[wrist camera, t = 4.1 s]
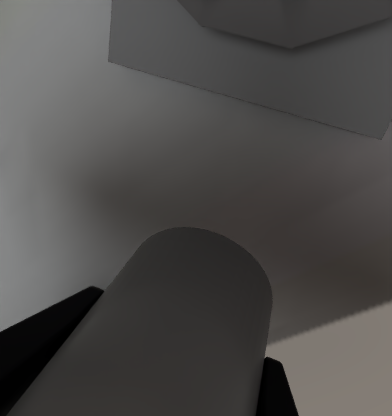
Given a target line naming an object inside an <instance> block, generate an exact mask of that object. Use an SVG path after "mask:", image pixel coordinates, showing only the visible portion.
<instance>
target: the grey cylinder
mask: <svg viewBox="0 0 392 416" xmlns="http://www.w3.org/2000/svg"><path fill="white" fill-rule="evenodd" d="M271 310H272V290H271V286H270V283H269V280H268V278H267V276H266V274H265V272H264V270H263V269H262V267H261V266H260V265H259V263H258V262H257V261H256V260H255V259H254V258H253V256H252V255H251V254H249V253H248V252H247V251H246V250H245V249H244V248H242V247H241V246H240V245H238V244H237V243H235V242H234V241H232V240H230V239H228V238H226V237H224V236H222V235H219V234H217V233H214V232H211V231H208V230H204V229H198V228H188V227H182V228H172V229H167V230H164V231H161V232H158V233H156V234H155V235H153V236H151V237H150V238H148V239H147V240H146V241H145V242H144V243H143V244H142V245H141V246H140V247H139V248H138V250H137V251H136V252H135V253H134V255H133V256H132V257H131V259H130V260H129V261H128V262H127V264H126V265H125V266H124V267H123V269H122V270H121V271H120V272H119V274H118V275H117V276H116V278H115V279H114V280H113V281H112V283H111V284H110V285H109V286H108V288H107V289H106V290H105V291H104V293H103V294H102V295H101V296H100V298H99V299H98V300H97V302H96V303H95V304H94V305H93V307H92V308H91V309H90V310H89V312H88V313H87V314H86V315H85V317H84V318H83V319H82V321H81V322H80V323H79V324H78V326H77V327H76V328H75V329H74V331H73V332H72V333H71V334H70V336H69V337H68V338H67V339H66V341H65V342H64V343H63V345H62V346H61V347H60V348H59V350H58V351H57V352H56V353H55V355H54V356H53V357H52V358H51V360H50V361H49V362H48V364H47V365H46V366H45V367H44V369H43V370H42V371H41V372H40V374H39V375H38V376H37V377H36V379H35V380H34V381H33V382H32V384H31V385H30V386H29V388H28V389H27V390H26V391H25V393H24V394H23V395H22V396H21V398H20V399H19V400H18V401H17V403H16V404H15V405H14V407H13V408H12V409H11V410H10V412H9V413H8V414H7V415H6V416H256V411H257V405H258V398H259V391H260V384H261V378H262V371H263V364H264V357H265V351H266V344H267V337H268V330H269V323H270V317H271Z"/></svg>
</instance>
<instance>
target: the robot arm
mask: <svg viewBox="0 0 392 416" xmlns="http://www.w3.org/2000/svg"><path fill="white" fill-rule="evenodd" d="M103 293H104V290H102V289H100V288H97V287H94V286H91V287H88V288H86V289H84V290H82V291H80V292H78V293H76V294H74V295H72V296H70V297H68V298H66V299H64V300H62V301H60V302H58V303H56V304H54V305H52V306H50V307H48V308H46V309H45V310H43V311H41V312H39V313H37V314H35V315H33V316H31V317H29V318H27V319H25V320H23V321H21V322H19V323H17V324H15V325H13V326H11V327H9V328H7V329H5V330H3V331H1V332H0V416H6V415H7V414H8V413H9V412H10V410H11V409H12V408H13V407H14V405H15V404H16V403H17V401H18V400H19V399H20V398H21V396H22V395H23V394H24V393H25V391H26V390H27V389H28V388H29V386H30V385H31V384H32V382H33V381H34V380H35V379H36V377H37V376H38V375H39V374H40V372H41V371H42V370H43V369H44V367H45V366H46V365H47V364H48V362H49V361H50V360H51V358H52V357H53V356H54V355H55V353H56V352H57V351H58V350H59V348H60V347H61V346H62V345H63V343H64V342H65V341H66V339H67V338H68V337H69V336H70V334H71V333H72V332H73V331H74V329H75V328H76V327H77V326H78V324H79V323H80V322H81V321H82V319H83V318H84V317H85V315H86V314H87V313H88V312H89V310H90V309H91V308H92V307H93V305H94V304H95V303H96V302H97V300H98V299H99V298H100V296H101V295H102V294H103ZM256 416H299V415H298V412H297V409H296V406H295V402H294V399H293V396H292V393H291V390H290V387H289V384H288V381H287V377H286V375H285V371H284V368H283V365H282V363H281V362H279V361H277V360H275V359H272V358H270V357H266V358H265V359H264V364H263V371H262V378H261V384H260V391H259V398H258V405H257V411H256Z"/></svg>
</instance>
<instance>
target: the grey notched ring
mask: <svg viewBox="0 0 392 416" xmlns="http://www.w3.org/2000/svg"><path fill="white" fill-rule="evenodd" d="M108 62H111V63H115V64H118V65H122V66H125V67H129V68H132V69H136V70H139V71H143V72H146V73H150V74H153V75H157V76H160V77H164V78H167V79H171V80H174V81H178V82H181V83H185V84H188V85H192V86H195V87H199V88H202V89H206V90H209V91H213V92H216V93H219V94H223V95H226V96H230V97H233V98H237V99H240V100H244V101H247V102H251V103H254V104H258V105H261V106H265V107H268V108H272V109H275V110H279V111H282V112H286V113H289V114H293V115H296V116H300V117H303V118H307V119H310V120H314V121H317V122H321V123H324V124H328V125H331V126H334V127H338V128H341V129H345V130H348V131H352V132H355V133H359V134H362V135H366V136H369V137H373V138H376V139H380V140H382V138H383V136H384V134H385V132H386V130H387V128H388V126H389V124H390V122H391V120H392V0H112V10H111V25H110V41H109V56H108Z"/></svg>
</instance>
